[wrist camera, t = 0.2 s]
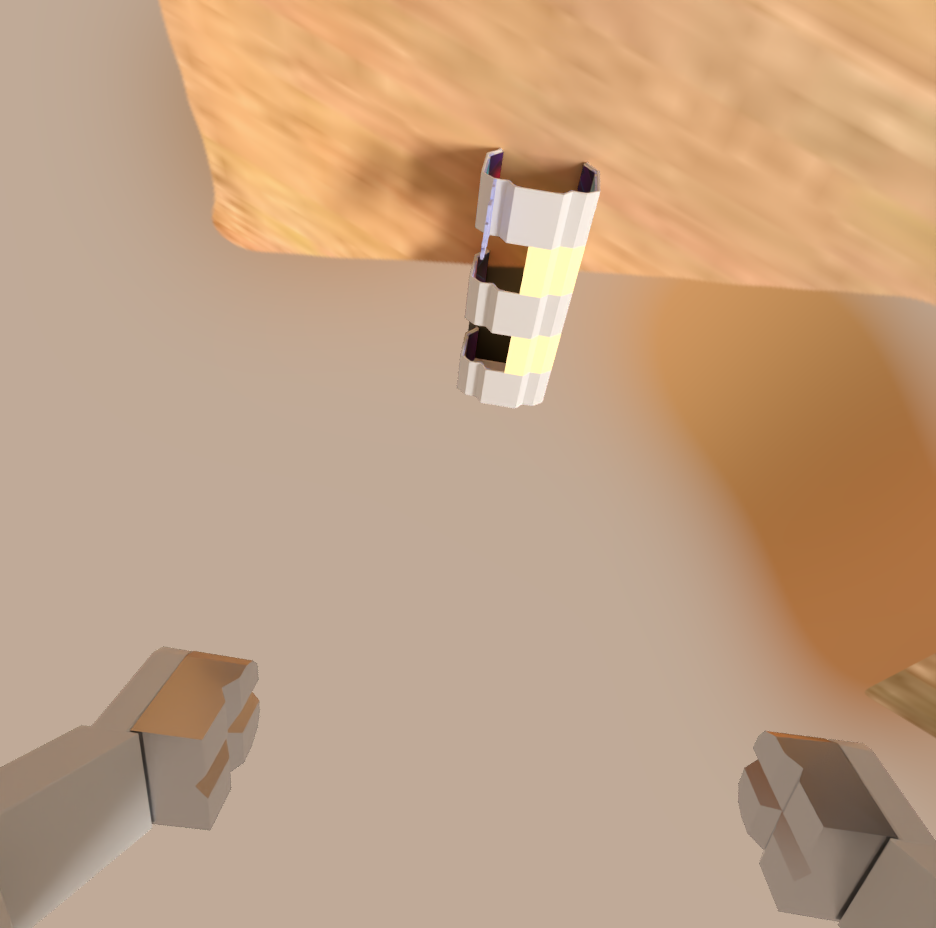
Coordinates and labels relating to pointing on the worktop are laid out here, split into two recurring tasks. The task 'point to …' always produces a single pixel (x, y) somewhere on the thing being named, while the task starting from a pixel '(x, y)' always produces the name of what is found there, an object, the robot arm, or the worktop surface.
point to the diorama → (522, 285)
